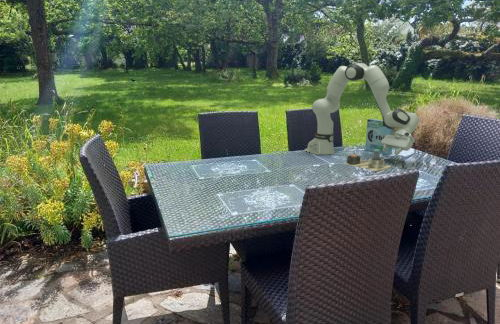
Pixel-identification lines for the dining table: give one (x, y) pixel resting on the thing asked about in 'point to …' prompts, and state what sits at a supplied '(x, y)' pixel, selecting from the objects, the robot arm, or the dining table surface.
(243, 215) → the dining table surface
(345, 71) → the robot arm
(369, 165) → the organiser
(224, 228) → the dining table surface
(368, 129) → the gum box
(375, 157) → the marker
